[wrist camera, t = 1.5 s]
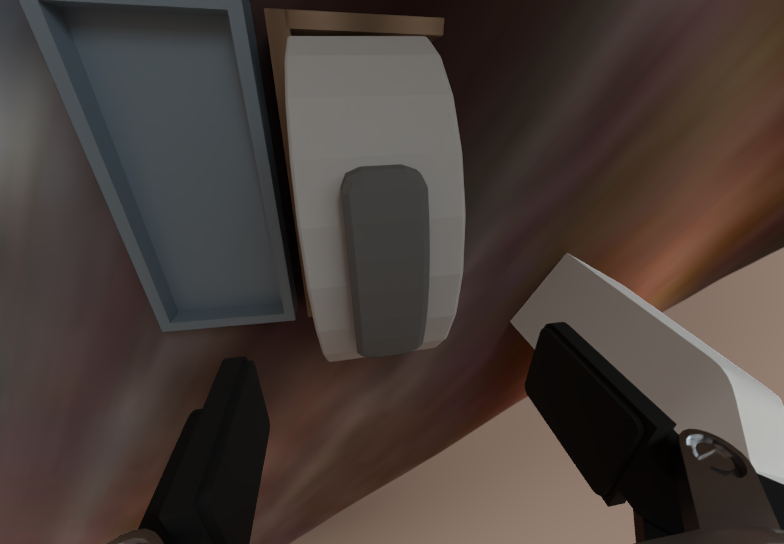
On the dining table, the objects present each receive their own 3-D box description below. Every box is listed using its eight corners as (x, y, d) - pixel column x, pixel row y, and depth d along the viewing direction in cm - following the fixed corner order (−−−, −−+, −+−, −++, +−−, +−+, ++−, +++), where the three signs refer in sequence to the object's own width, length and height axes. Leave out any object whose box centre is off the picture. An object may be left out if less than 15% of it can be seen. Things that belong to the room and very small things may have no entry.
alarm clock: (302, 53, 25) (241, -38, 8) (394, 53, 26) (509, -30, 9) (332, 281, 36) (332, 450, 19) (397, 274, 37) (454, 429, 20)
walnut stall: (429, 28, 26) (444, 18, 22) (414, 288, 38) (423, 307, 34) (273, 21, 24) (263, 8, 21) (310, 296, 36) (308, 317, 33)
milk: (623, 285, 44) (934, 485, 21) (567, 345, 48) (777, 566, 25) (566, 252, 39) (880, 460, 17) (509, 321, 43) (701, 563, 21)
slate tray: (250, 2, 23) (240, -9, 21) (298, 304, 36) (295, 320, 34) (47, -9, 21) (8, -24, 19) (175, 314, 34) (162, 332, 32)
